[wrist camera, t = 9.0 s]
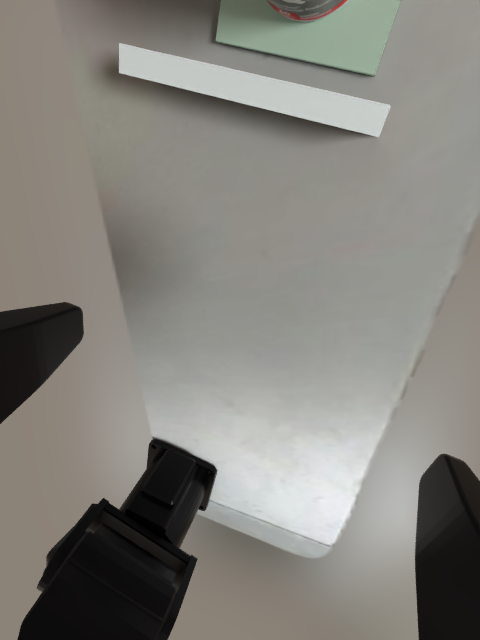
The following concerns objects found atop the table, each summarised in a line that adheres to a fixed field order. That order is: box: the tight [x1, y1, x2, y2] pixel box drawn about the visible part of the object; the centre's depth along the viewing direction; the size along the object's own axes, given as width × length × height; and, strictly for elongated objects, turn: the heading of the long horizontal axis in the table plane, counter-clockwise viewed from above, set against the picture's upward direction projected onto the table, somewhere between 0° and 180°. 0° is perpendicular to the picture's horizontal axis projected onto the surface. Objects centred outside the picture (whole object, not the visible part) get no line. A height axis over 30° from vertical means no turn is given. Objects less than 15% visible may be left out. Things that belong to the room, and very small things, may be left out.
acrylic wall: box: [119, 43, 391, 137], centre depth 14 cm, size 1×11×3 cm, turn 79°
